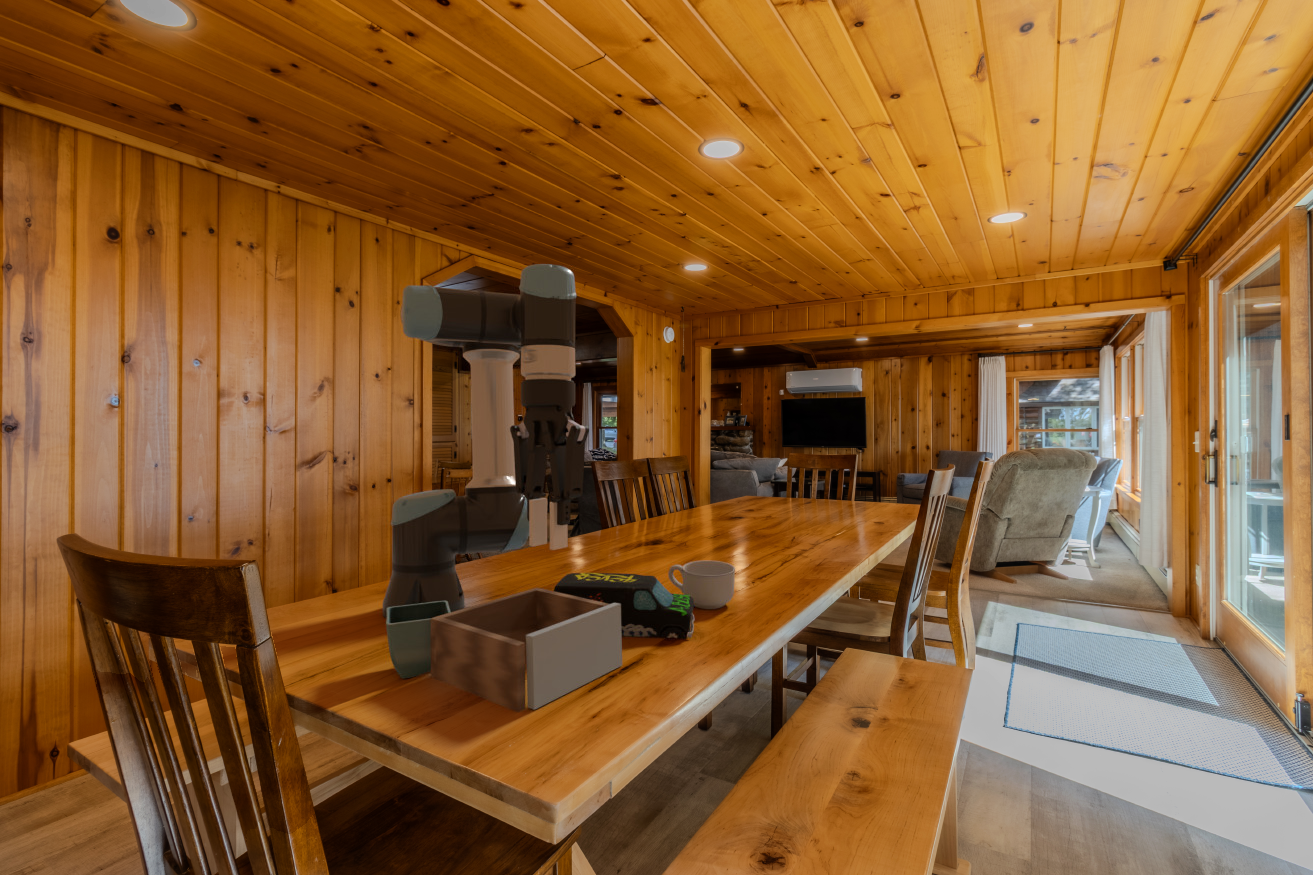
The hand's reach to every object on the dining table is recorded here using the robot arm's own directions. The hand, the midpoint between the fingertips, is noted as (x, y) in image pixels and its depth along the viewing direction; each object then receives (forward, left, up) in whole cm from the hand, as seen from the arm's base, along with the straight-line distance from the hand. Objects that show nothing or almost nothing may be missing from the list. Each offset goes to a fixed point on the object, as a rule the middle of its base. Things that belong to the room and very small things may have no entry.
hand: (548, 545), depth 85 cm
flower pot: (-19, -8, -20) cm, 29 cm away
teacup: (-3, +46, -20) cm, 50 cm away
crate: (-4, 0, -20) cm, 20 cm away
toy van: (-4, +22, -20) cm, 30 cm away
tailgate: (+5, 0, -18) cm, 19 cm away
